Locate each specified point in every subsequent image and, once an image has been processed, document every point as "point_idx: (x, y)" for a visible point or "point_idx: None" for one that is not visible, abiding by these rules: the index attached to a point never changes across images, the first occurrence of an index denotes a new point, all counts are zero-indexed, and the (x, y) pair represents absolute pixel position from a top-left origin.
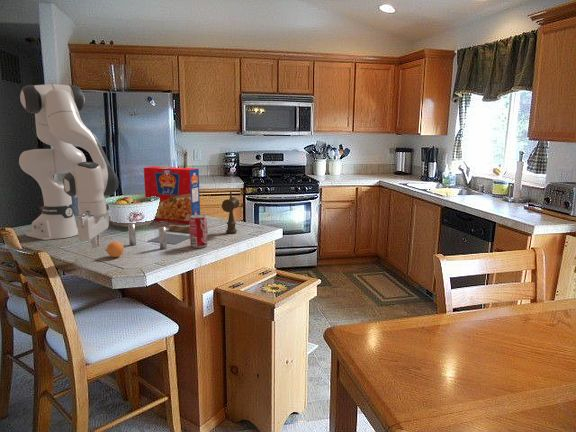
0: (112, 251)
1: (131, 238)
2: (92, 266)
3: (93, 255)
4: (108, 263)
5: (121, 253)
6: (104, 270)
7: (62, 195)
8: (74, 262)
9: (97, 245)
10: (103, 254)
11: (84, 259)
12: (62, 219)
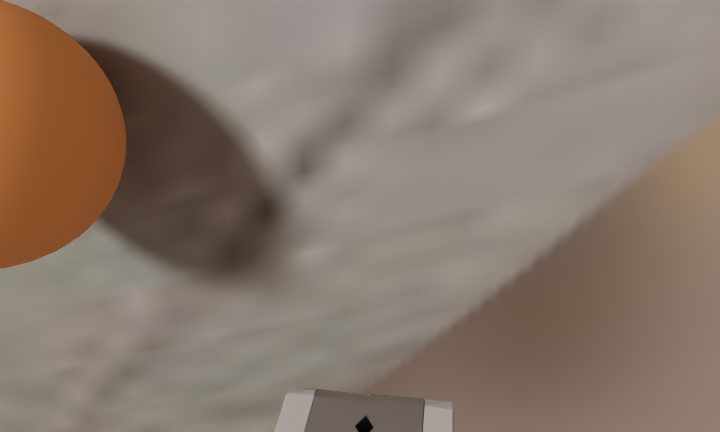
0: (104, 144)
1: None
2: (464, 248)
3: (84, 326)
4: (351, 99)
5: (17, 6)
6: (694, 55)
7: None
8: None
9: (407, 421)
10: None
11: (220, 364)
12: None
